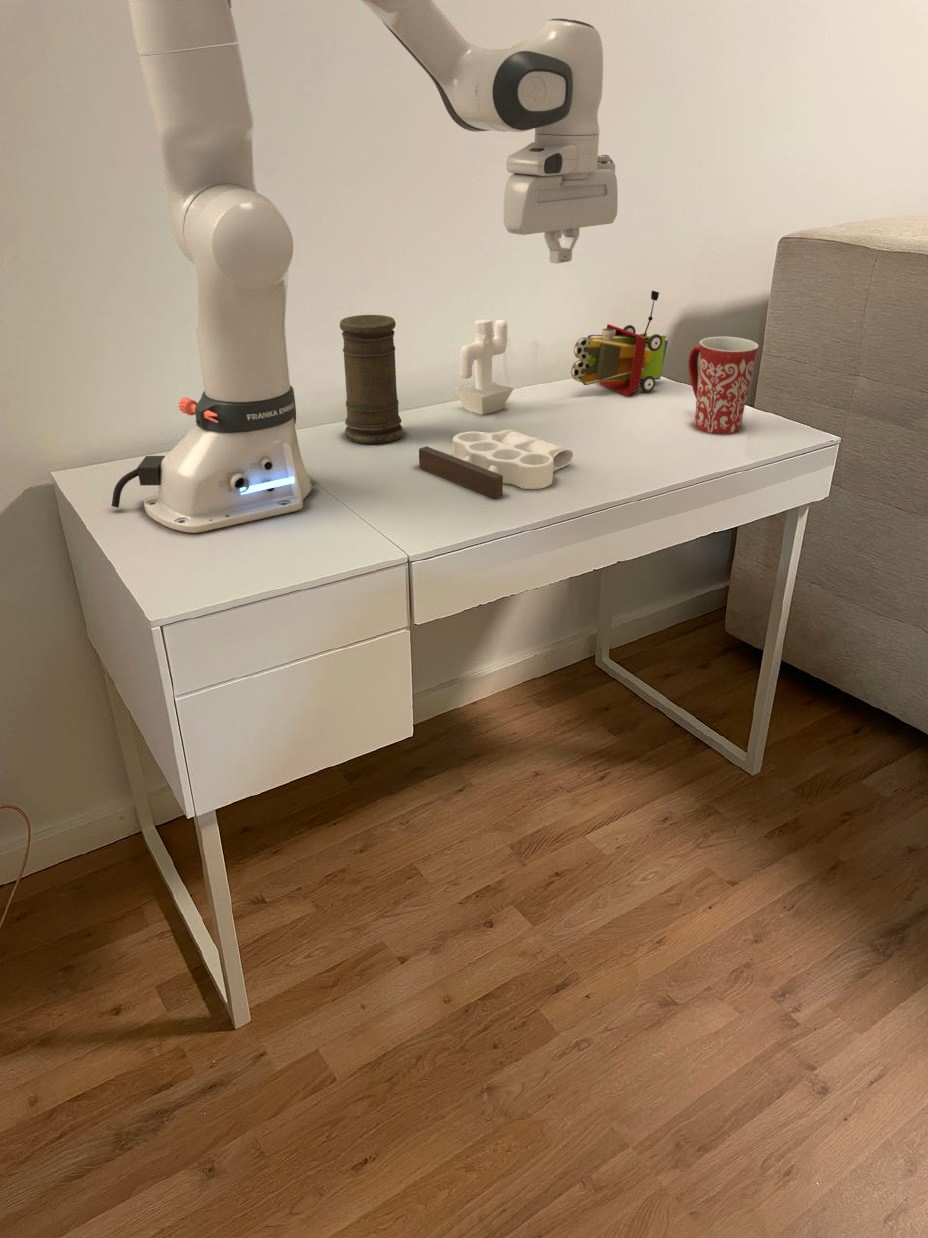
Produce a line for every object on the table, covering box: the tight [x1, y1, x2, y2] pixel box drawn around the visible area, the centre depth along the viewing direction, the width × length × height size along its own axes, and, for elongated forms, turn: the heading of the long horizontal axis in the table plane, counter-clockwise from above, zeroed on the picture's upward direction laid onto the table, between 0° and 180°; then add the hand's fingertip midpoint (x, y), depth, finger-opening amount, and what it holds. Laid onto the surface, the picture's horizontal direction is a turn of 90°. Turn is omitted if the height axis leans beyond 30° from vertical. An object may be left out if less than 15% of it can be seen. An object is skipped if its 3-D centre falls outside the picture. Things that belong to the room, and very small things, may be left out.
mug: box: [687, 336, 760, 435], centre depth 155 cm, size 13×9×14 cm
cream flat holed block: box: [452, 428, 574, 490], centre depth 141 cm, size 3×18×15 cm
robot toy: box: [570, 290, 669, 397], centre depth 172 cm, size 17×9×20 cm
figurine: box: [453, 318, 514, 416], centre depth 162 cm, size 7×9×15 cm
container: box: [339, 314, 404, 445], centre depth 150 cm, size 9×9×18 cm
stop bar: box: [418, 445, 504, 500], centre depth 136 cm, size 2×16×3 cm, turn 42°
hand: (560, 261), depth 141 cm, fingers closed
